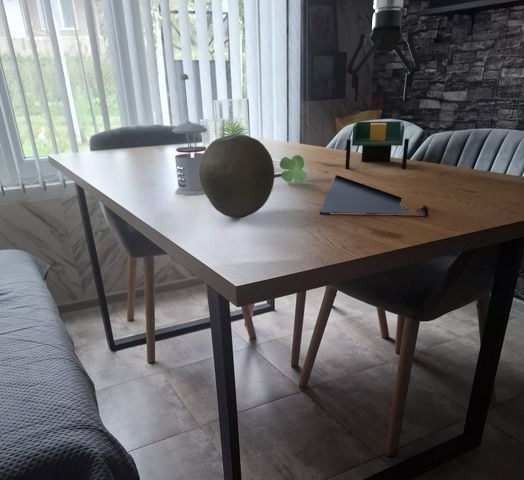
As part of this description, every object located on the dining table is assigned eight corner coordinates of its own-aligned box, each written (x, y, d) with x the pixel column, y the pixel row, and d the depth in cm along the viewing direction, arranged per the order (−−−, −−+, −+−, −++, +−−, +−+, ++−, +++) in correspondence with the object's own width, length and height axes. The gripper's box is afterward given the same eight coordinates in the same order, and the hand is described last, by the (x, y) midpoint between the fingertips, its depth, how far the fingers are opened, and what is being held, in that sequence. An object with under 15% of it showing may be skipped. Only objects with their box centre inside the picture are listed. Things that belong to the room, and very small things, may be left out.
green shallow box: (355, 136, 145) (356, 119, 143) (399, 136, 142) (401, 118, 140) (352, 145, 126) (353, 126, 124) (402, 145, 124) (404, 125, 122)
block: (370, 139, 133) (371, 123, 131) (385, 139, 132) (386, 122, 130) (369, 140, 129) (370, 124, 127) (385, 140, 129) (386, 124, 127)
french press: (173, 196, 114) (159, 74, 102) (176, 186, 124) (163, 74, 112) (215, 193, 115) (206, 72, 102) (214, 184, 125) (206, 73, 112)
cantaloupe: (198, 213, 99) (191, 133, 91) (265, 207, 102) (263, 129, 94) (209, 231, 87) (201, 141, 79) (284, 224, 90) (283, 136, 82)
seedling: (294, 198, 130) (294, 189, 124) (273, 177, 131) (272, 168, 124) (313, 179, 130) (314, 169, 123) (292, 158, 130) (292, 148, 124)
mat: (336, 176, 129) (336, 175, 129) (414, 177, 125) (414, 175, 125) (319, 214, 95) (319, 212, 95) (425, 216, 91) (425, 214, 91)
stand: (348, 167, 141) (349, 133, 137) (403, 167, 138) (406, 133, 134) (344, 175, 130) (346, 139, 125) (404, 176, 127) (409, 139, 122)
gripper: (435, 9, 128) (424, 99, 139) (341, 14, 133) (337, 100, 144) (438, 6, 122) (426, 100, 133) (339, 12, 127) (335, 102, 138)
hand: (380, 101), depth 138 cm, fingers open, 13 cm apart
